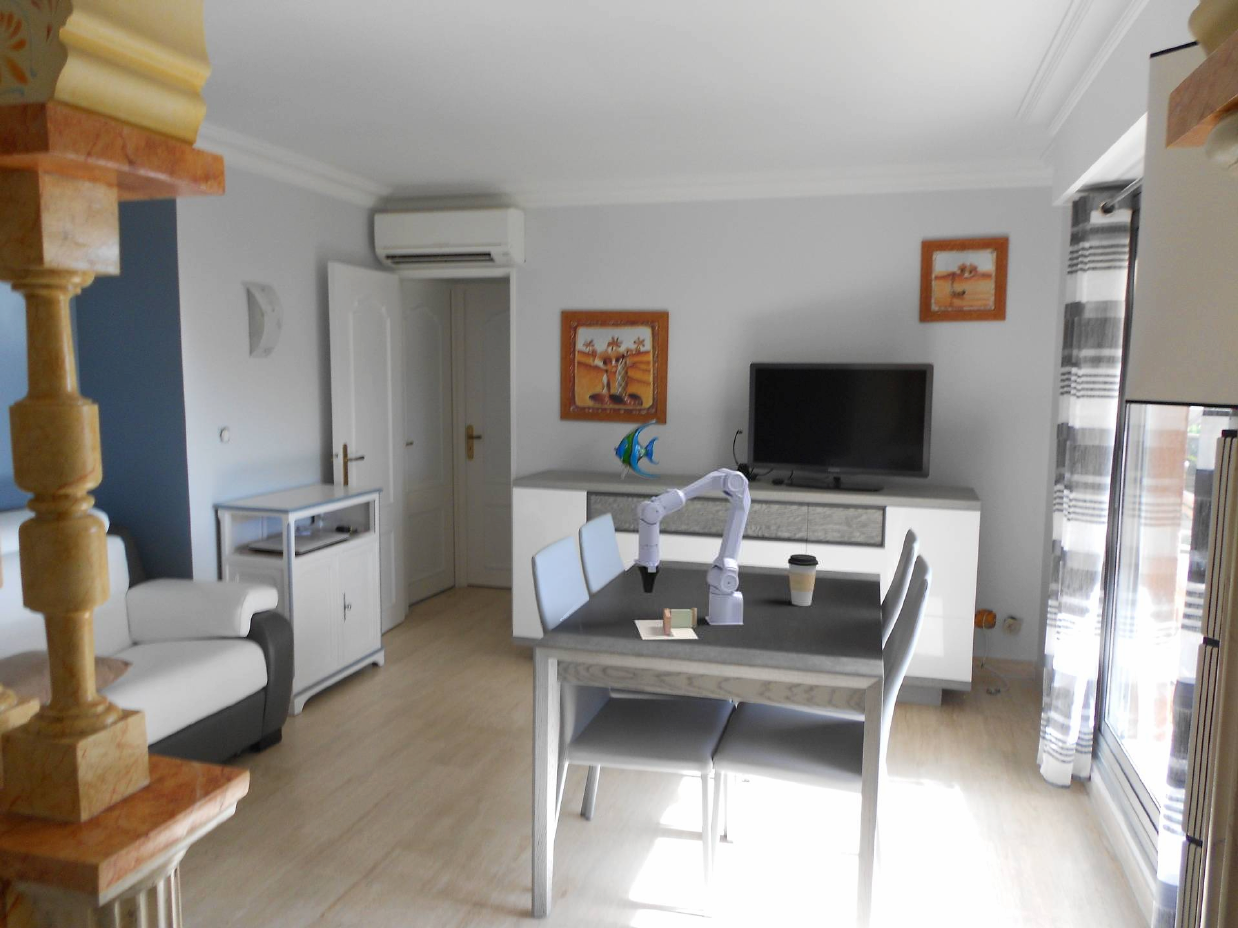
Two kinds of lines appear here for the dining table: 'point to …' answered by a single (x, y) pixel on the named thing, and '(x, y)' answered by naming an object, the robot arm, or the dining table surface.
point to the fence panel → (667, 621)
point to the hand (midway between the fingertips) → (648, 592)
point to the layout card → (662, 631)
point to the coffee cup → (802, 578)
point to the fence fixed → (683, 618)
